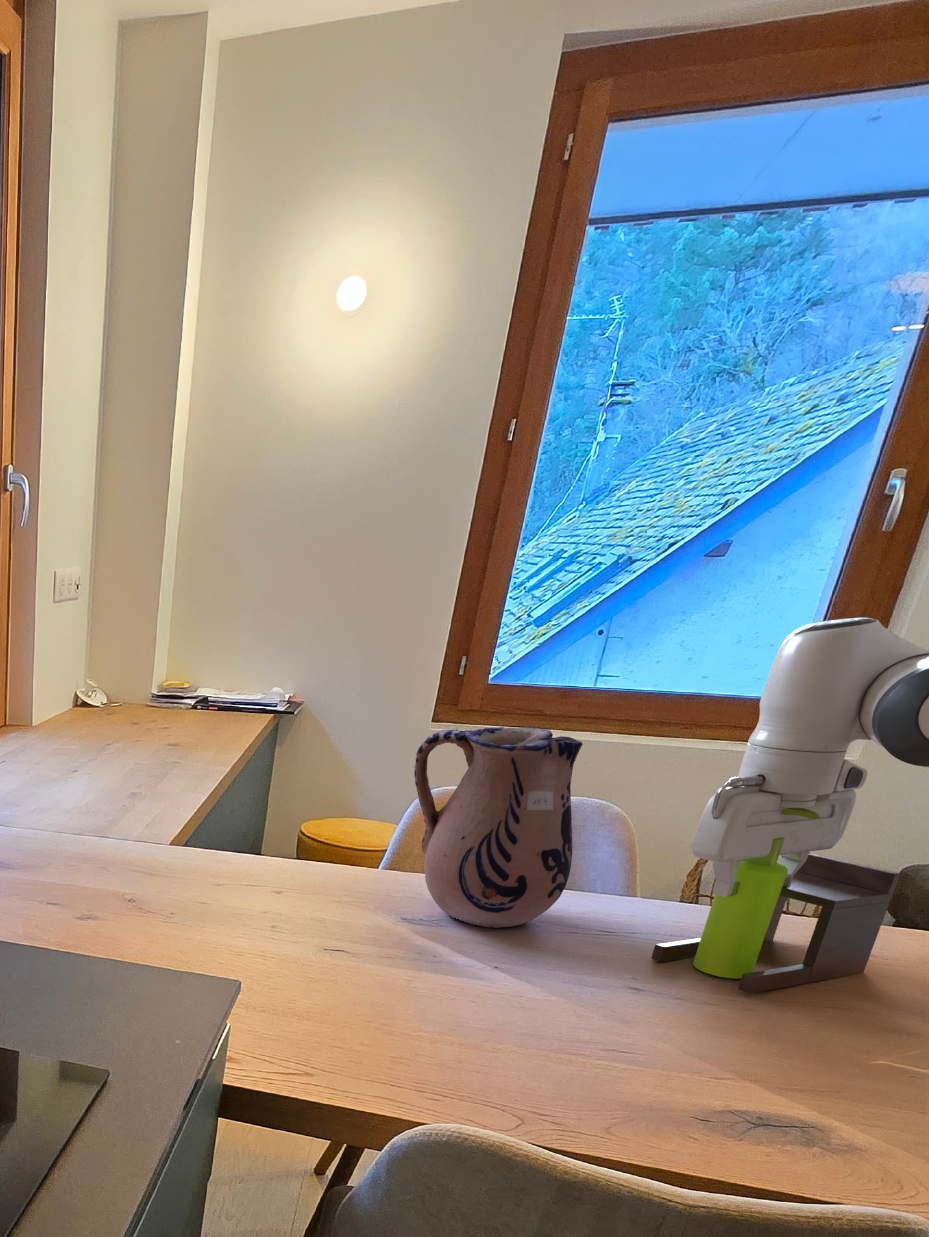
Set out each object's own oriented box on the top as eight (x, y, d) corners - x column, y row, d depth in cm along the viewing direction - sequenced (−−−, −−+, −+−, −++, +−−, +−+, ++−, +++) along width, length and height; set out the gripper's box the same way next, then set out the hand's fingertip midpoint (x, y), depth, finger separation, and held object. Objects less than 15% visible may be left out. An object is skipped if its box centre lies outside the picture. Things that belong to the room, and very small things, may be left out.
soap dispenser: (763, 984, 121) (823, 816, 112) (692, 972, 124) (745, 808, 115) (761, 967, 125) (818, 804, 116) (693, 955, 128) (744, 797, 120)
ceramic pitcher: (558, 949, 133) (609, 753, 122) (383, 926, 141) (416, 740, 130) (553, 905, 147) (597, 726, 136) (394, 887, 155) (424, 716, 144)
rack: (863, 973, 124) (900, 873, 119) (747, 993, 118) (782, 888, 113) (762, 942, 134) (792, 849, 130) (650, 959, 128) (678, 862, 123)
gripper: (751, 783, 109) (714, 908, 115) (878, 771, 116) (837, 890, 121) (694, 773, 115) (661, 892, 120) (819, 762, 121) (782, 876, 127)
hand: (750, 891), depth 121 cm, fingers open, 8 cm apart
